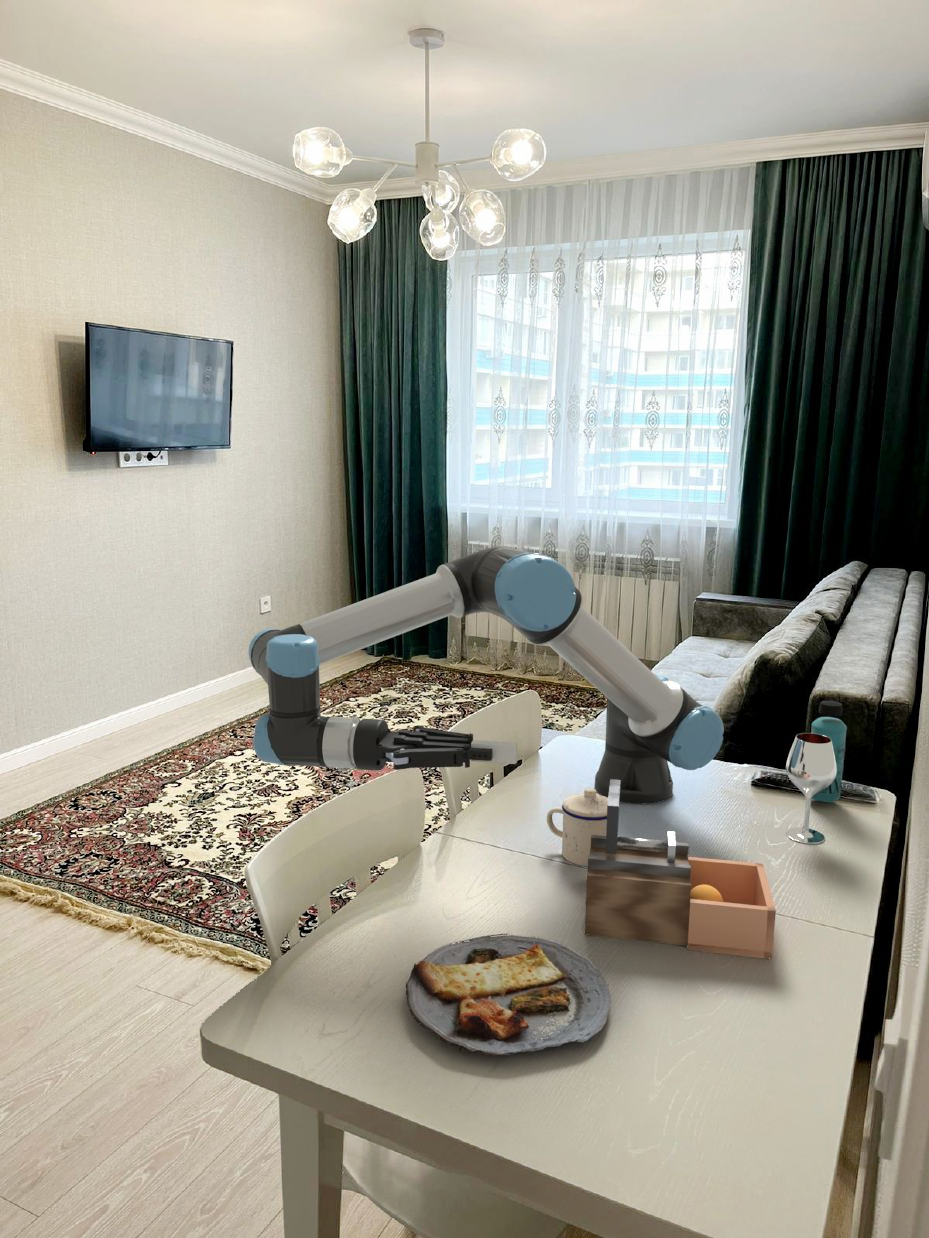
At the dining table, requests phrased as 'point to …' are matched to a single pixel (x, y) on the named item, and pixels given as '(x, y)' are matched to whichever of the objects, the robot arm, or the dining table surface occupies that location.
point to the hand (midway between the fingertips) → (516, 753)
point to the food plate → (506, 994)
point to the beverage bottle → (838, 735)
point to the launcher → (637, 894)
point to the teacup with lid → (580, 824)
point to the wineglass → (810, 776)
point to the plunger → (626, 842)
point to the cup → (732, 909)
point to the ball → (705, 893)
